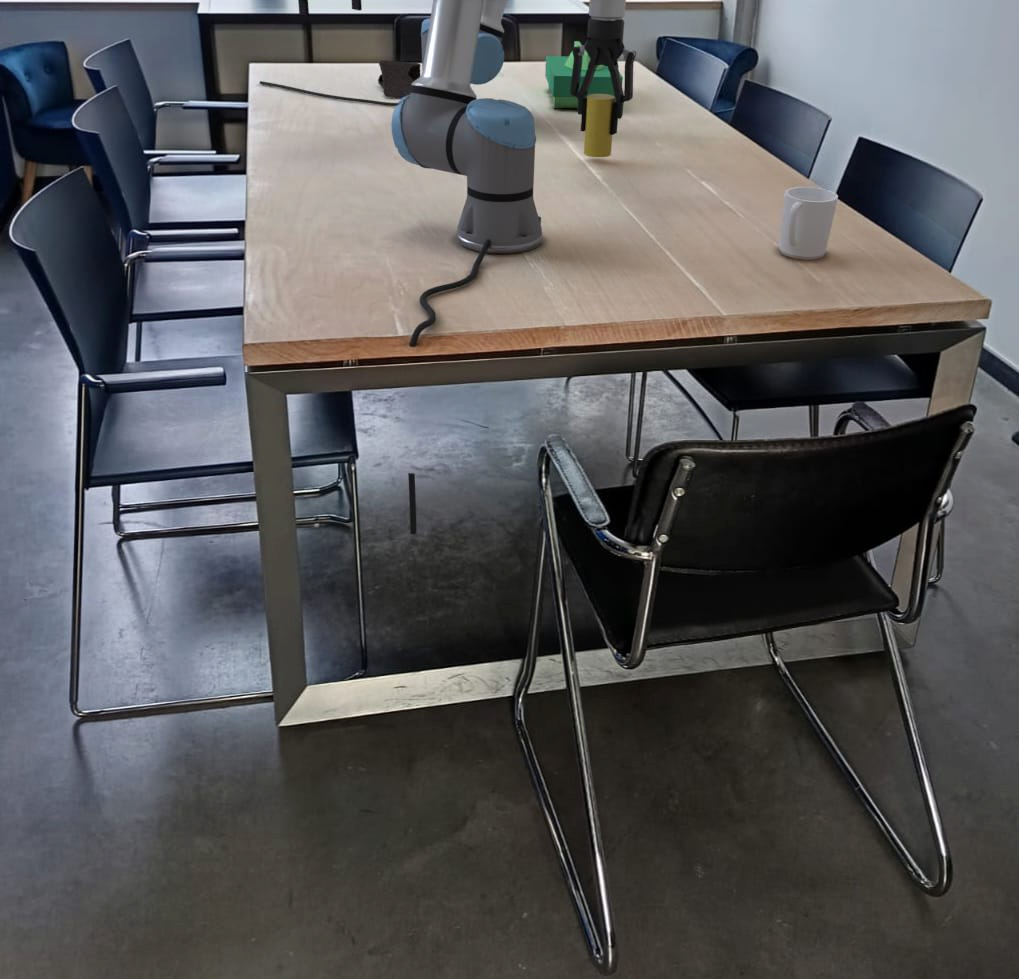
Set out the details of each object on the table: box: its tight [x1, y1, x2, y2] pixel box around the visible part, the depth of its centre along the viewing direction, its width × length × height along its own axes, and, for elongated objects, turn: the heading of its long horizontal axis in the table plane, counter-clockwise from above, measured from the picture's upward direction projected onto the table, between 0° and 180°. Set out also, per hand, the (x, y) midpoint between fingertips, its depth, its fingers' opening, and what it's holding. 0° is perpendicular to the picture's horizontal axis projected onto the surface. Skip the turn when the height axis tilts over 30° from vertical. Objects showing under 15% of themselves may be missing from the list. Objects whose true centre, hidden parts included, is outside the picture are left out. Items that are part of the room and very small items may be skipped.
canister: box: [583, 94, 615, 158], centre depth 239 cm, size 6×6×12 cm
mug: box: [778, 186, 839, 261], centre depth 190 cm, size 11×9×10 cm
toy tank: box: [544, 40, 624, 109], centre depth 295 cm, size 18×12×35 cm
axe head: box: [377, 59, 422, 99], centre depth 299 cm, size 18×8×15 cm
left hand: (330, 12), depth 239 cm, fingers open, 13 cm apart
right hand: (598, 131), depth 239 cm, fingers closed on canister, 6 cm apart
